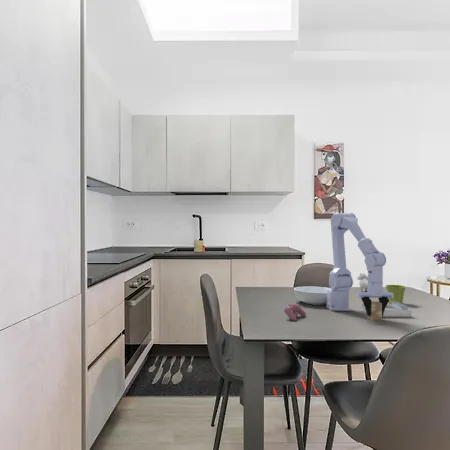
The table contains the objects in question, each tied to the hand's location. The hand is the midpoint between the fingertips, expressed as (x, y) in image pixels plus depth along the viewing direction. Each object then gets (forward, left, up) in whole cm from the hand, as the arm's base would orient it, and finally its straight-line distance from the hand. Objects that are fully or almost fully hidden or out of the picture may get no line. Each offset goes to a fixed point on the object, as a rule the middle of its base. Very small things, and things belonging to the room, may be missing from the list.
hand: (374, 315), depth 158 cm
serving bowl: (-16, +33, -2) cm, 37 cm away
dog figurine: (+22, +66, -2) cm, 70 cm away
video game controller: (-32, +2, -2) cm, 33 cm away
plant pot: (+24, +33, -2) cm, 41 cm away
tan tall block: (0, 0, -2) cm, 2 cm away
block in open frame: (+9, +10, -2) cm, 14 cm away
